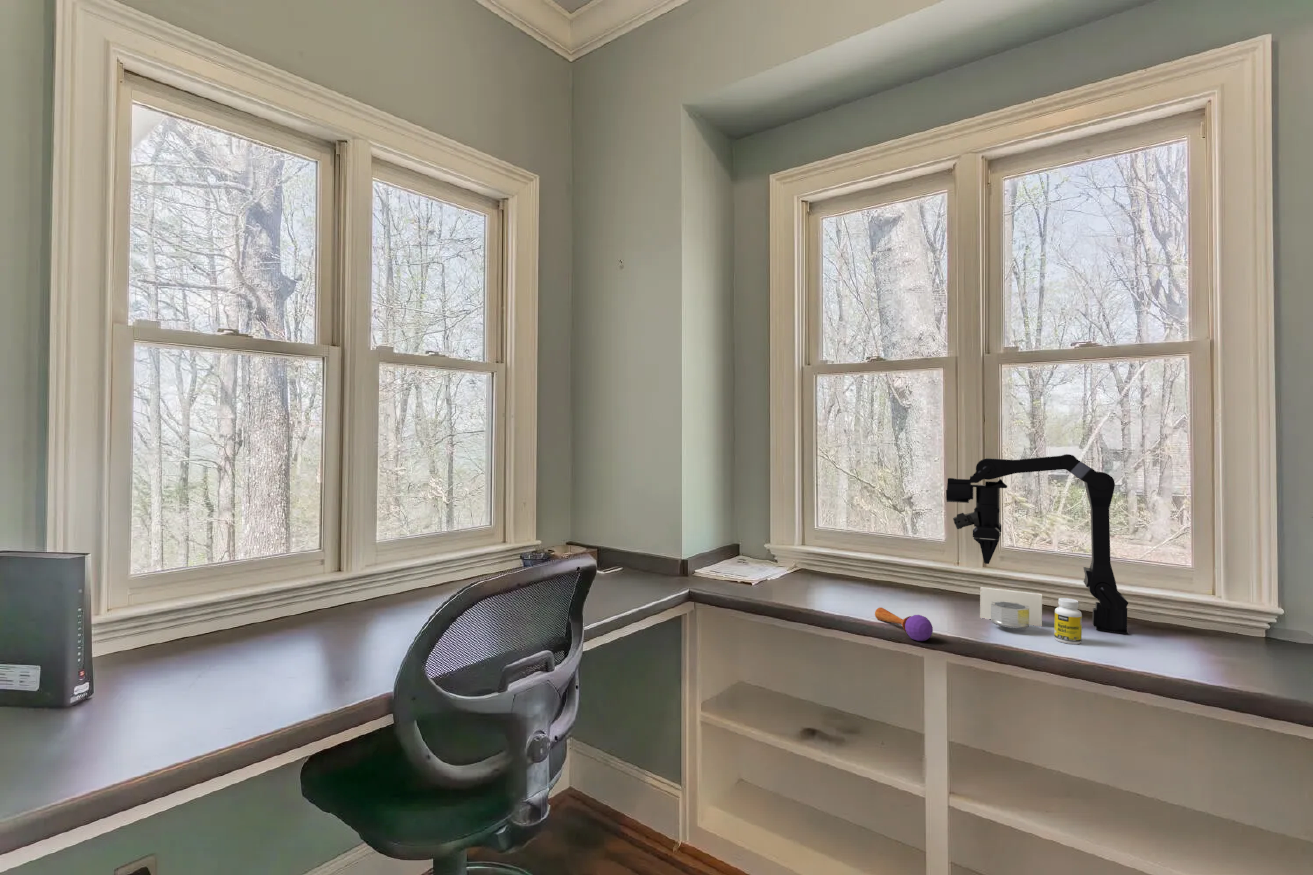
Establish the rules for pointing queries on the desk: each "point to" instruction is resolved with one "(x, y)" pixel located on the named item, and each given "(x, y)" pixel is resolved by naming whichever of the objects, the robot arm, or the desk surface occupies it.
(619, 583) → the desk surface
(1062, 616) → the supplement bottle
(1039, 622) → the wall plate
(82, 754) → the desk surface
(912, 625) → the purple maraca
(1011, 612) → the cup bracket
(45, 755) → the desk surface
